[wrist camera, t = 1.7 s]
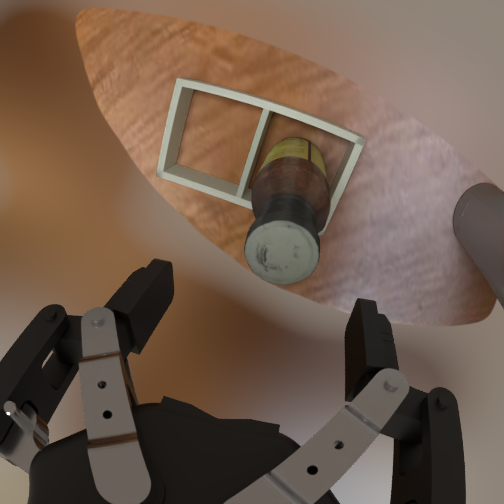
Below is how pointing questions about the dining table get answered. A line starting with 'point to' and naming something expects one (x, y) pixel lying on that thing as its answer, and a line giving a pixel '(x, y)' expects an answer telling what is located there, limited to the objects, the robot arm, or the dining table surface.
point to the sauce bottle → (288, 213)
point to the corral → (242, 192)
